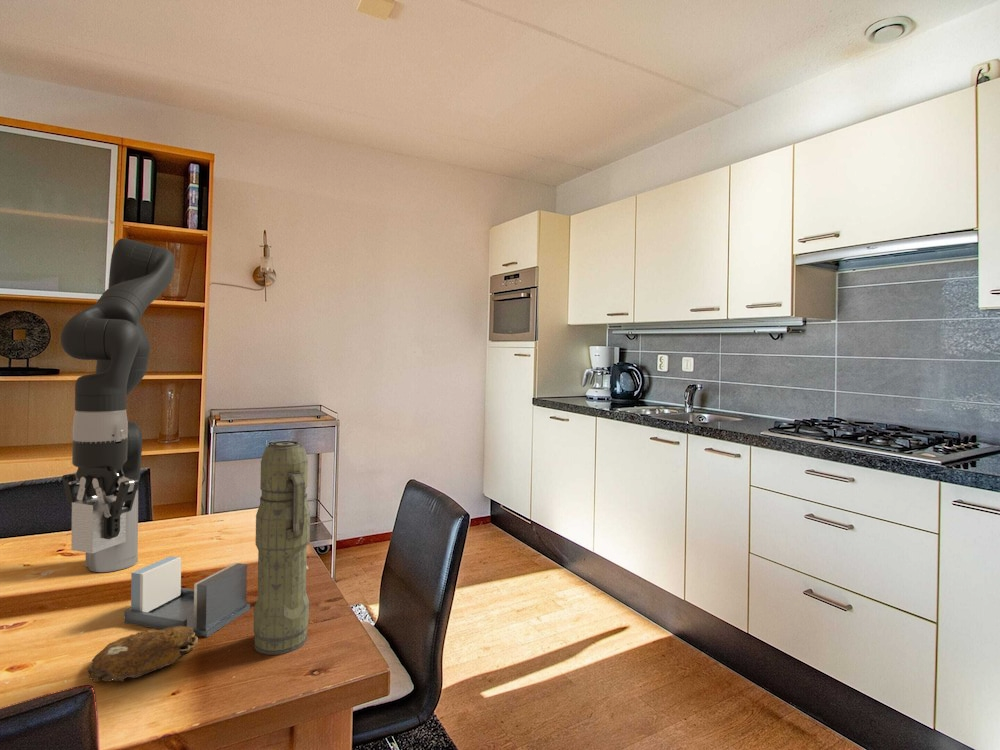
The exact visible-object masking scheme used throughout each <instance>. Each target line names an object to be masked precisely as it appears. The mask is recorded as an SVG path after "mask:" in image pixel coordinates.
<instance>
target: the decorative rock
mask: <svg viewBox="0 0 1000 750" xmlns="http://www.w3.org/2000/svg"><path fill="white" fill-rule="evenodd" d="M198 637H199V636H196V635H195V632H193V628H189V627H188V626H187V627H185V626H173V627H168V628H164V629H154V628H151V629H150V630H147V631H140V632H137V633H134V634H129V636H124V637H121V638H119V639H117V640H115V641H113V642H110V643H108V644H106V646H105V647H104V648H103V649H102V650H100V651H99V652H98V653H97V654H96V655H94V656H93V658H92V660H91V662H92V664H91V665H90V666H89V667H88V669H87V670H88V671H87V672H88V678H89V679H88V680H91V679H90V678H92V681H93V682H94V683H98V682H100V681H101V682H102V681H105V682H106V681H108V682H110V681H109V680H111V681H118V680H119V681H122V682H124V679H126V678H132V679H133V680H135V679H137V678H139V677H141V676H143V675H146V674H149V673H151V672H153V671H155V670H157V671H158V670H162V669H163V668H164V667H167V666H169V665H171V664H173V663H174V662H175V661H176V660H178V659H180V658H181V656H183V655H184V654H186V653H189V652H191V651H193V650H194V648H196V647H195V646H196V645H197V644H199V642H198V640H199V638H198ZM185 652H186V653H185ZM125 677H126V678H125ZM112 679H113V680H112Z"/></svg>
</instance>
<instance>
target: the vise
mask: <svg viewBox="0 0 1000 750" xmlns="http://www.w3.org/2000/svg"><path fill="white" fill-rule="evenodd" d="M247 575H248V564H247V563H240V562H234V563H232V564H231V565H229V566H226V567H224V568H223V569H221V570H218V571H217V572H215V573H213V574H211V575H209V576H206V577H204V578H202V579H201V580H199V581H197V582H195V583H194V584H193V585H194V586H193V587H194V588H187V587H181V595H180V596H178V597H176V598H174V599H172V600H170V601H168V602H166V603H164V604H163V605H161V606H159V607H157V608H155V609H153V610H151V611H149V612H143V611H137V610H131V608H128V609H125V610H124V613H123V615H124V616H123V618H124V619H123V623H124V624H127V625H129V624H130V625H133V626H134V625H135V626H139V627H145V626H146V627H147V628H151V627H152V628H151V629H156V630H161V629H164V628H168V627H173V626H185V627H187V626H188V627H189V628H193V632H195V636H196V637H202V636H204V637H203V638H208V637H210V636H211V635H213V634H215V633H216V632H217V630H218V631H219V630H221V629H222V628H224V627H225V626H226V625H229V623H231V622H233V621H234V620H236V619H237V618H239V617H240V616H242V615H243V614H245V613H246V612H248V611H249V610H251V603H247V582H248V581H247V579H248V576H247ZM214 632H215V633H214Z"/></svg>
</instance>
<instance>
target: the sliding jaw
mask: <svg viewBox="0 0 1000 750" xmlns="http://www.w3.org/2000/svg"><path fill="white" fill-rule="evenodd" d="M130 581H131V582H130V583H131V584H130V585H131V586H130V587H131V588H130V589H131V591H130V609H131V610H137V611H143V612H149V611H151V610H153V609H155V608H157V607H159V606H161V605H163V604H164V603H166V602H168V601H170V600H172V599H174V598H176V597H178V596H180V595H181V588H182V557H178V556H172V555H170V556H167V557H165V558H162V559H161V560H158V561H155V562H154V563H151V564H148V565H146V566H144V567H141V568H140V569H137V570H135V571H132V572H131V578H130Z"/></svg>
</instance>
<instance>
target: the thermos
mask: <svg viewBox="0 0 1000 750" xmlns="http://www.w3.org/2000/svg"><path fill="white" fill-rule="evenodd" d="M307 455H308V454H307V452H306V448H305V445H304V444H303V443H300V442H299V441H293V440H292V441H291V440H283V441H273V442H270V444H267V445H266V446H265V448H264V452H263V454H262V458H261V460H260V490H261V496H260V497H259V505H258V506H259V507H258V509H257V511H256V513H255V514H256V515H255V547H256V549H257V551H258V552H257V560H258V561H257V599H256V602H255V605H254V608H253V634H254V644H253V645H254V646H253V647H254V649H255V650H256V651H257V652H258V653H260V654H263V655H268V656H269V655H273V656H276V655H284V654H287V653H290V652H293V651H296V650H297V649H299V648H301V647H302V646H304V645H305V643H306V642H307V640H308V626H309V619H310V618H309V616H310V615H309V613H310V611H309V609H310V600H309V597H308V595H307V571H306V564H307V557H308V556H307V554H308V544H309V543H310V539H311V508H310V505H309V503H308V493H307V487H308V470H309V469H308V468H309V466H308V465H309V464H308V462H309V460H308V456H307Z"/></svg>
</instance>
